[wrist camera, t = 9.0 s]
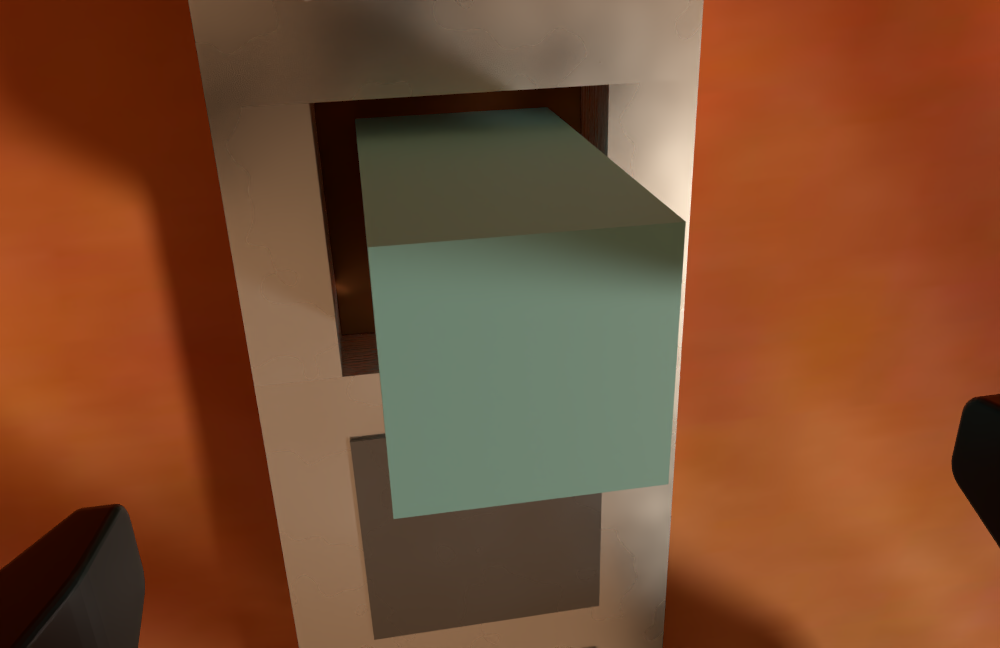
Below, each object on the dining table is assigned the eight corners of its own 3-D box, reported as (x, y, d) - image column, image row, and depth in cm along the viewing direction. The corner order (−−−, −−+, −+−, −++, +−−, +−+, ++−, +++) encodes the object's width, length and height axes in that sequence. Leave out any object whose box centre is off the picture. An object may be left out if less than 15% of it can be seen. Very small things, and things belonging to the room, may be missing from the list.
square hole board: (631, 732, 26) (654, 794, 24) (333, 784, 25) (333, 853, 23) (673, -168, 16) (717, -182, 14) (179, -159, 15) (157, -171, 13)
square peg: (547, 283, 20) (668, 484, 13) (372, 299, 19) (392, 519, 12) (547, 107, 18) (685, 222, 11) (354, 118, 18) (368, 247, 10)
